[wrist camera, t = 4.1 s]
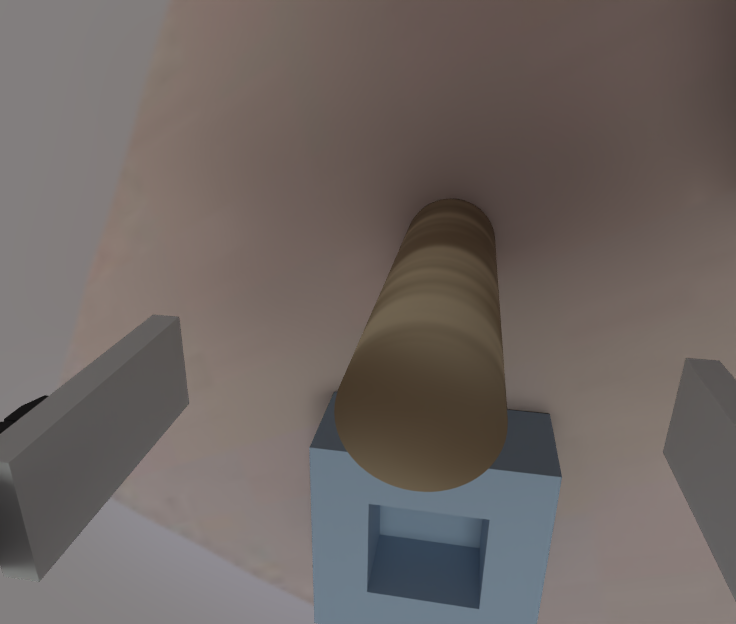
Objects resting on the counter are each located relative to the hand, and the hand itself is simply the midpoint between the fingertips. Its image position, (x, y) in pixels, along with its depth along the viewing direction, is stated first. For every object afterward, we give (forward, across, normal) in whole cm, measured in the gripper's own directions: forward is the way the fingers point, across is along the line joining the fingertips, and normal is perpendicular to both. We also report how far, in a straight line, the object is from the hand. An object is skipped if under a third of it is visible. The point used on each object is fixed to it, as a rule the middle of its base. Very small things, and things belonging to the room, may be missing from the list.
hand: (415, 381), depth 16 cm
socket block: (+13, 0, -14) cm, 19 cm away
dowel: (+13, 0, 0) cm, 13 cm away
